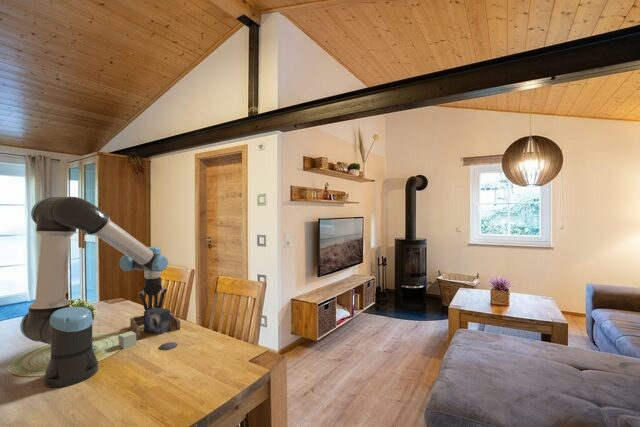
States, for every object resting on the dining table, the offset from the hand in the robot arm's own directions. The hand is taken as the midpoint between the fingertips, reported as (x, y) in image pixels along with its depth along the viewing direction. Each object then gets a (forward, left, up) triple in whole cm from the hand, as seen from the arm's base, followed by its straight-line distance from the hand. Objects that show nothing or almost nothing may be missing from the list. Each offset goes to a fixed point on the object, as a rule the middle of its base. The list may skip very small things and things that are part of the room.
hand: (153, 322), depth 156 cm
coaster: (-30, 0, -2) cm, 30 cm away
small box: (-8, 0, -2) cm, 9 cm away
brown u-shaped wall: (-4, 0, -2) cm, 4 cm away
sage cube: (-17, +13, -2) cm, 22 cm away
